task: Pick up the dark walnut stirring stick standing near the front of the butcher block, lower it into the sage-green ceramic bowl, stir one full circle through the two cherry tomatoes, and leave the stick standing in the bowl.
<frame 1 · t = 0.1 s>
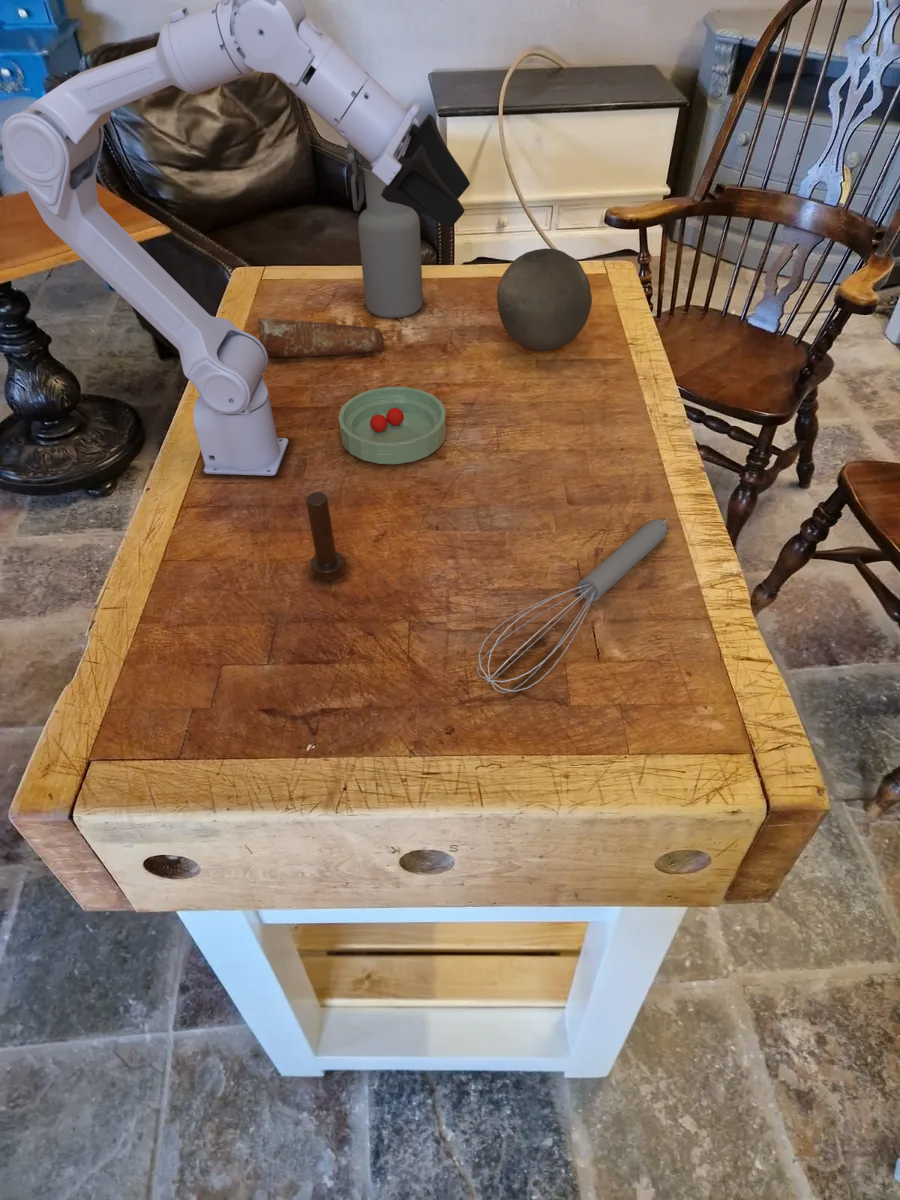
hand: (460, 205, 81), 32 cm above the table, tool tilted 50°, fingers open, 7 cm apart
water bottle: (393, 307, 136), on the table
kitchen whisk: (580, 608, 85), on the table
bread: (324, 352, 126), on the table
stirrer: (328, 570, 90), on the table
tomato b: (395, 416, 109), point 2 cm above the table, touching bowl
bowl: (393, 436, 109), on the table
tomato a: (378, 423, 108), point 2 cm above the table, touching bowl
dark grey ball: (540, 351, 125), on the table
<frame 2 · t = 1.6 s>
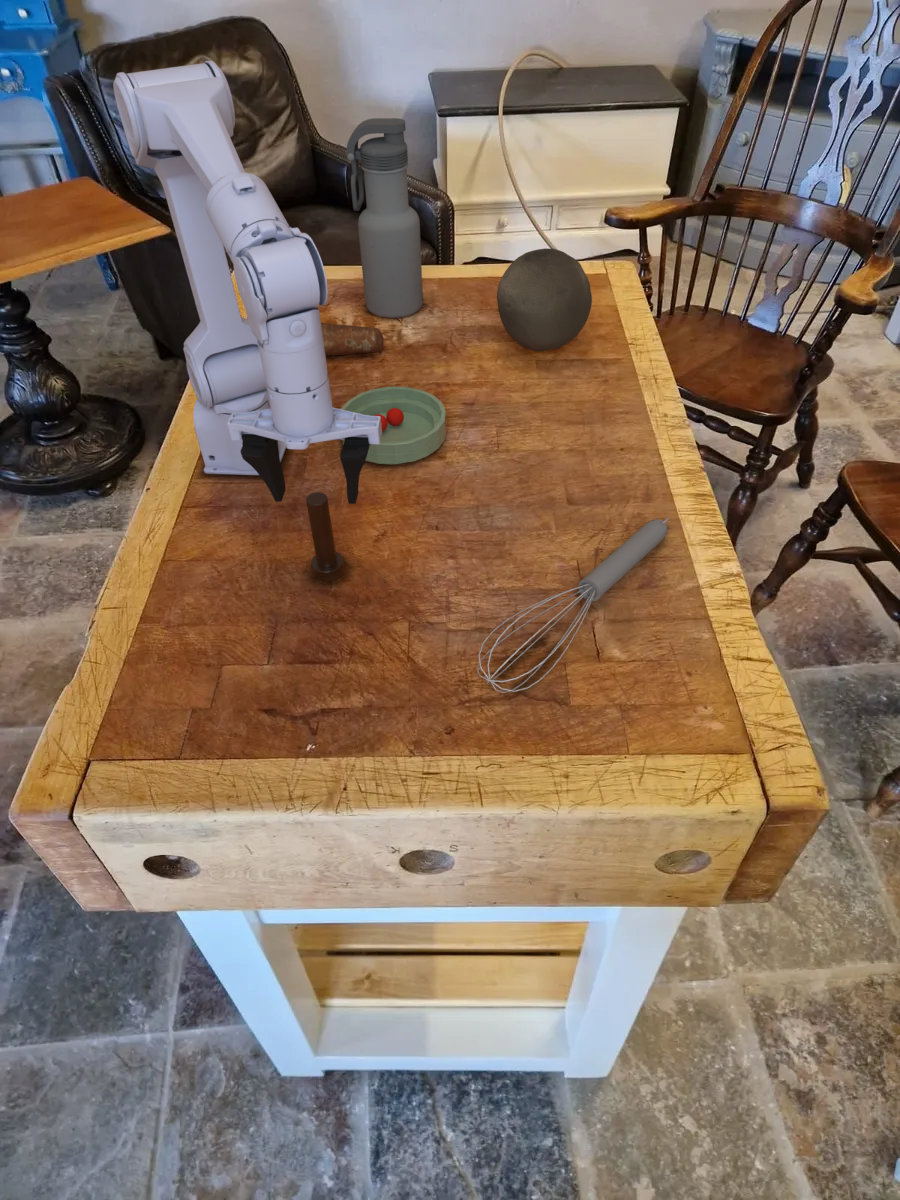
hand: (316, 496, 82), 10 cm above the table, tool pointing down, fingers open, 7 cm apart
nothing on the table moved.
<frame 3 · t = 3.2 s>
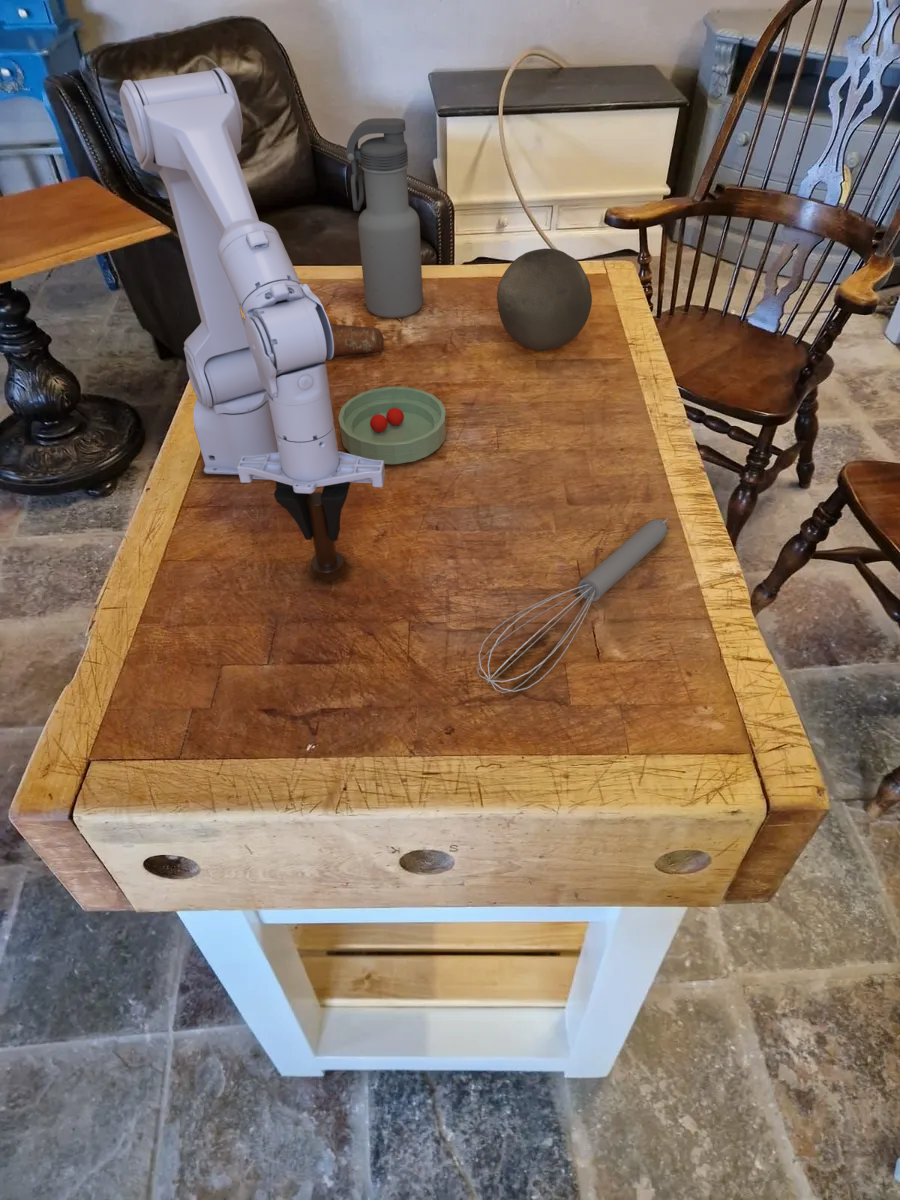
hand: (322, 534, 86), 5 cm above the table, tool pointing down, fingers closed on stirrer, 2 cm apart
stirrer: (328, 570, 90), on the table, touching gripper
everything else where it was.
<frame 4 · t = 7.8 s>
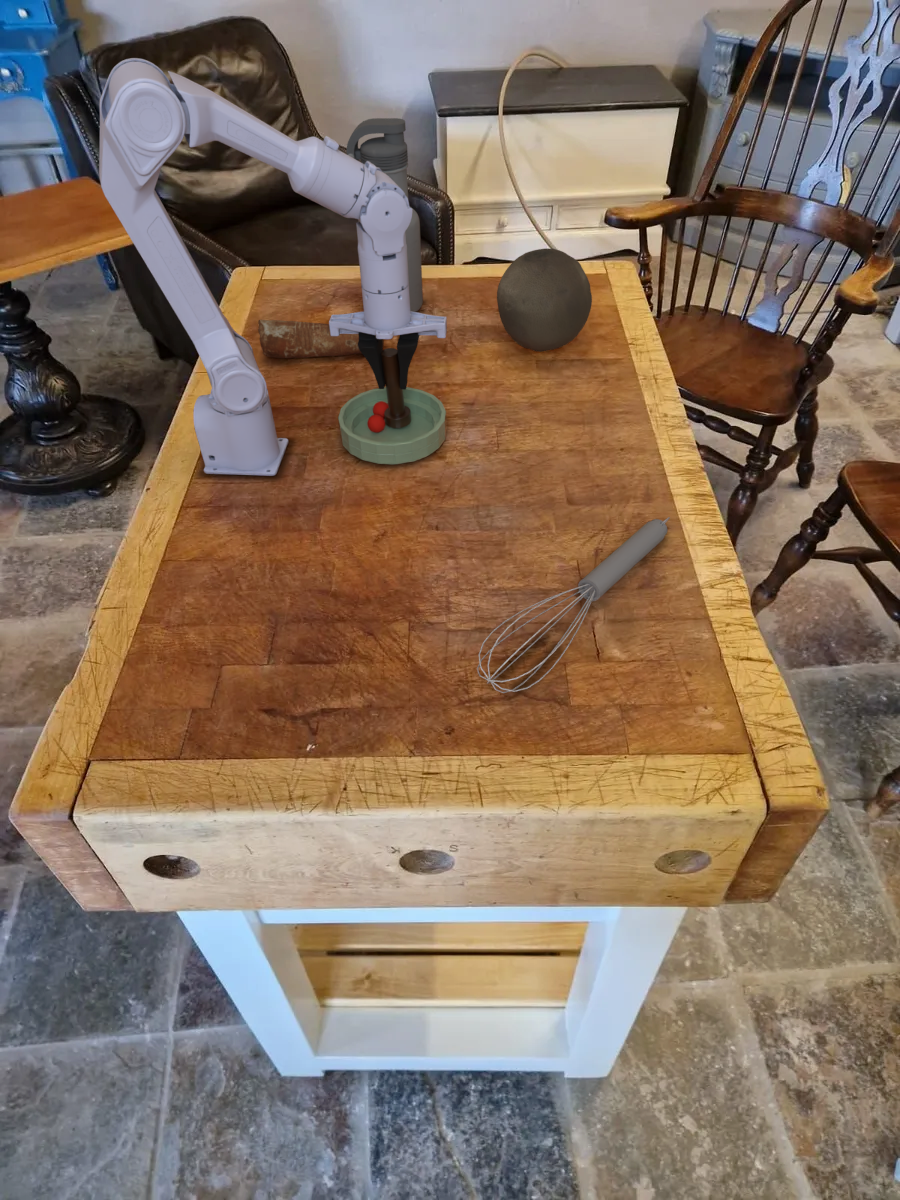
hand: (392, 385, 106), 6 cm above the table, tool pointing down, fingers closed on stirrer, 2 cm apart
stirrer: (398, 421, 109), point 1 cm above the table, touching gripper, tomato b
tomato b: (381, 410, 110), point 2 cm above the table, tilted 121°, touching bowl, stirrer
tomato a: (376, 423, 108), point 2 cm above the table, tilted 16°, touching bowl
everything else where it was.
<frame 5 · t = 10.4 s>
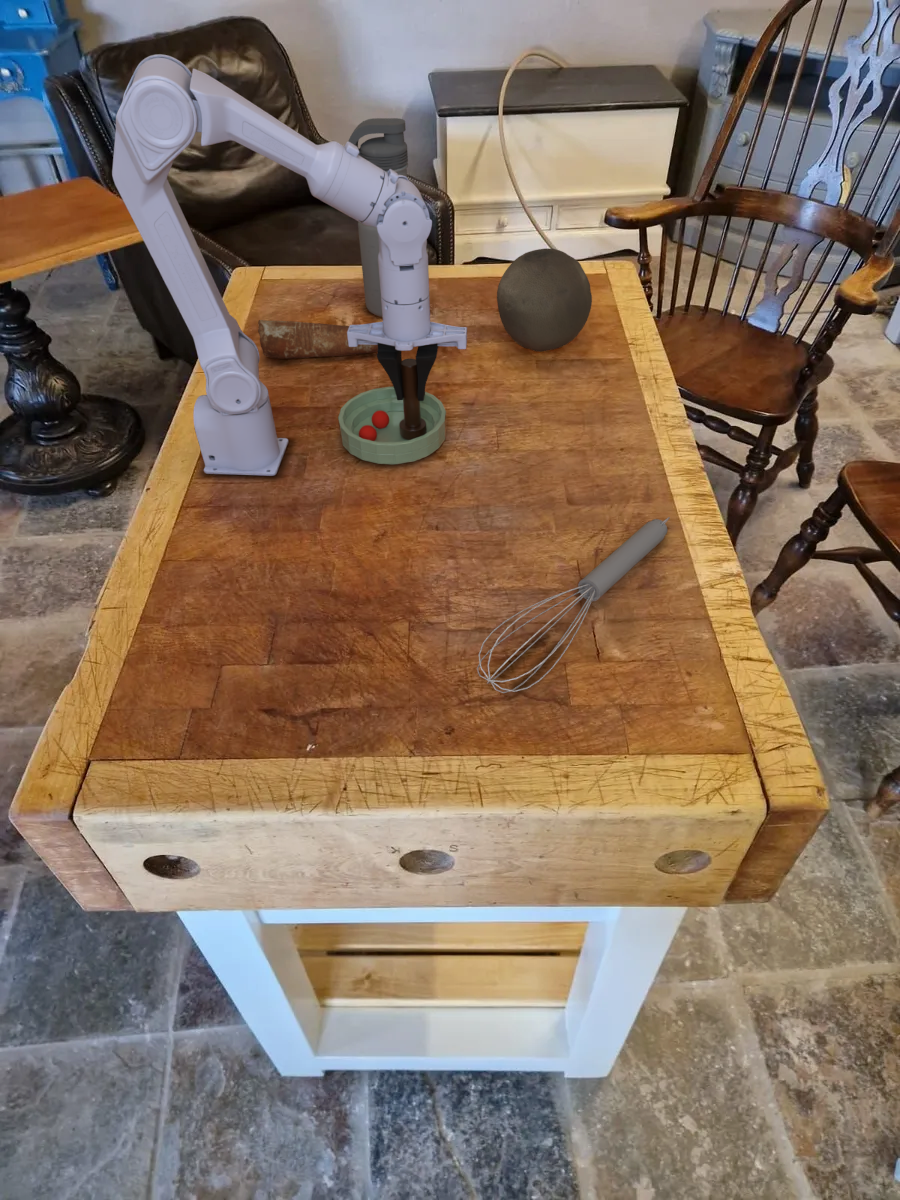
hand: (411, 396, 104), 6 cm above the table, tool pointing down, fingers closed on stirrer, 2 cm apart
stirrer: (413, 433, 107), point 1 cm above the table, touching gripper
tomato b: (380, 419, 109), point 2 cm above the table, tilted 34°, touching bowl
tomato a: (367, 434, 106), point 2 cm above the table, tilted 55°, touching bowl
everything else where it was.
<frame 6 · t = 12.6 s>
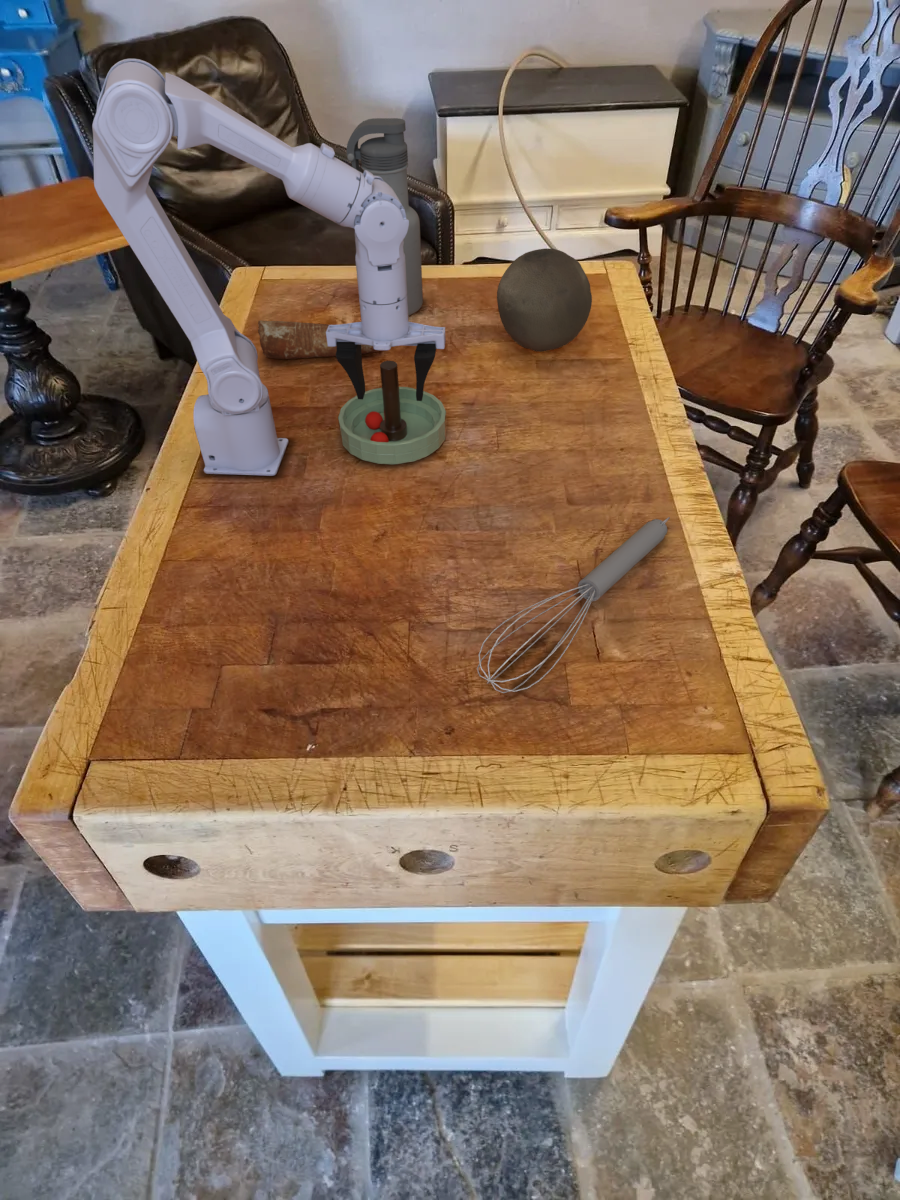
hand: (390, 396, 104), 6 cm above the table, tool pointing down, fingers open, 7 cm apart
stirrer: (393, 433, 108), resting on bowl
tomato a: (379, 441, 105), point 2 cm above the table, tilted 57°, touching bowl
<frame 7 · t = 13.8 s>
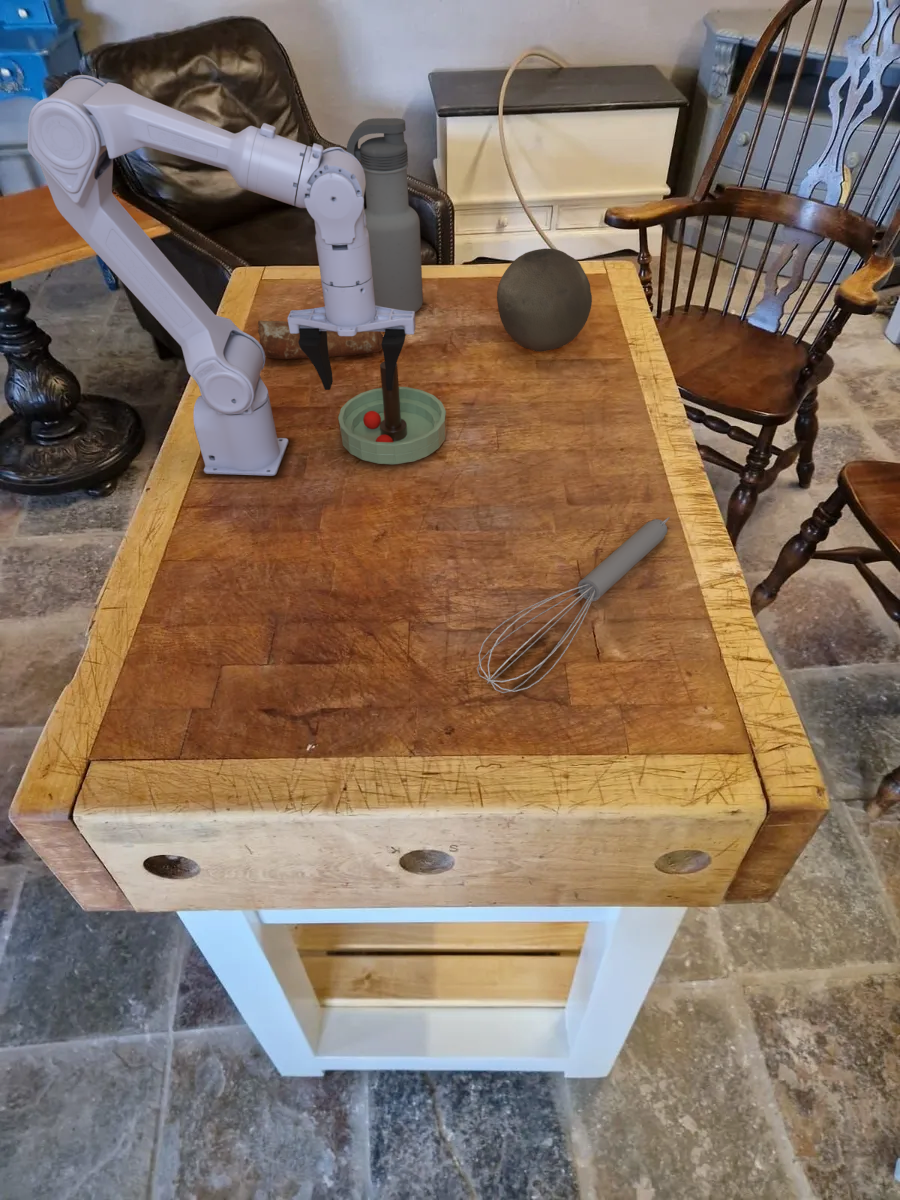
hand: (359, 386, 98), 10 cm above the table, tool pointing down, fingers open, 7 cm apart
tomato b: (372, 420, 108), point 2 cm above the table, tilted 46°, touching bowl
tomato a: (384, 443, 104), point 2 cm above the table, tilted 100°, touching bowl
everything else where it was.
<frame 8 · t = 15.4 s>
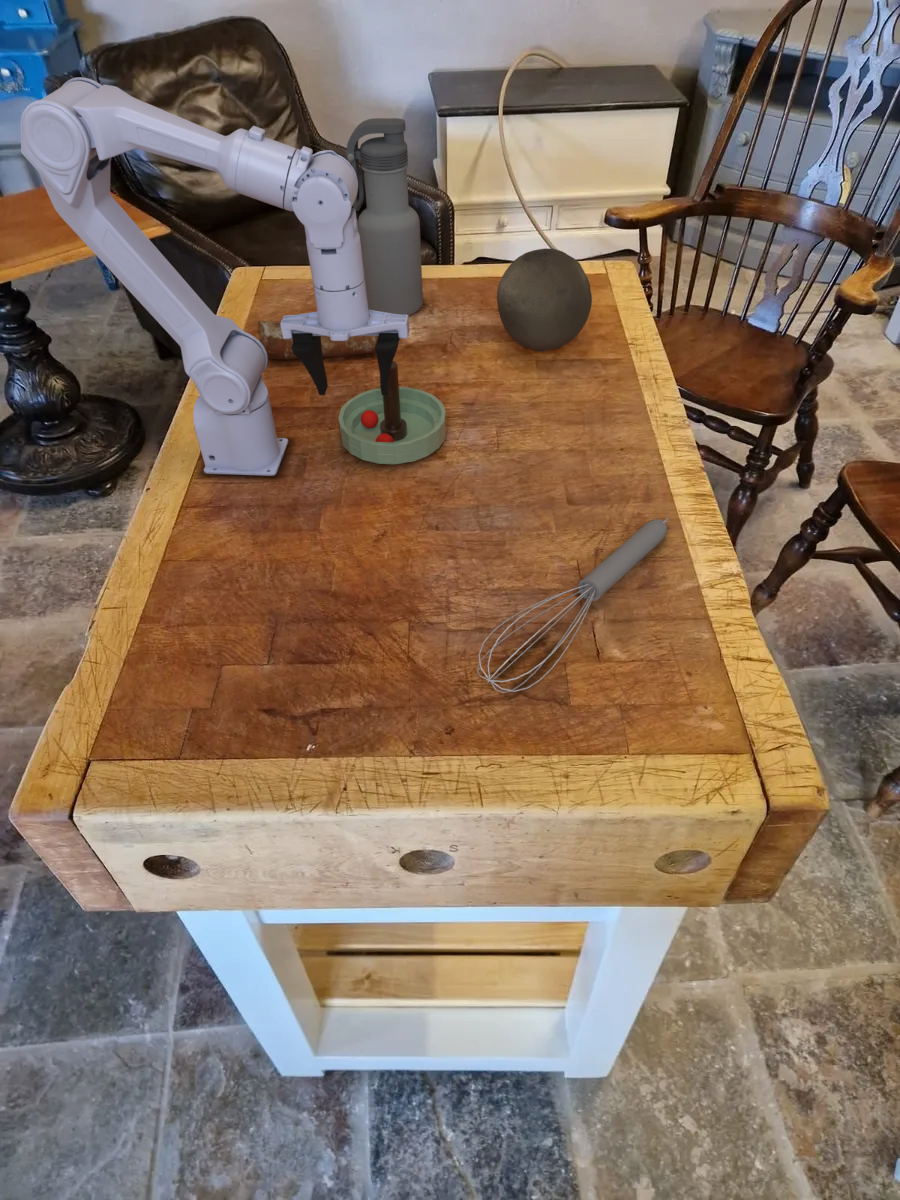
hand: (354, 390, 97), 10 cm above the table, tool pointing down, fingers open, 7 cm apart
tomato b: (369, 419, 109), point 2 cm above the table, tilted 66°, touching bowl
tomato a: (384, 442, 105), point 2 cm above the table, tilted 92°, touching bowl
everything else where it was.
at the end: stirrer inside the target area in the bowl (0.1 cm from its centre), point 0.5 cm above the bowl's base; tomato a moved 4.7 cm from its start; the gripper is holding nothing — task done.
